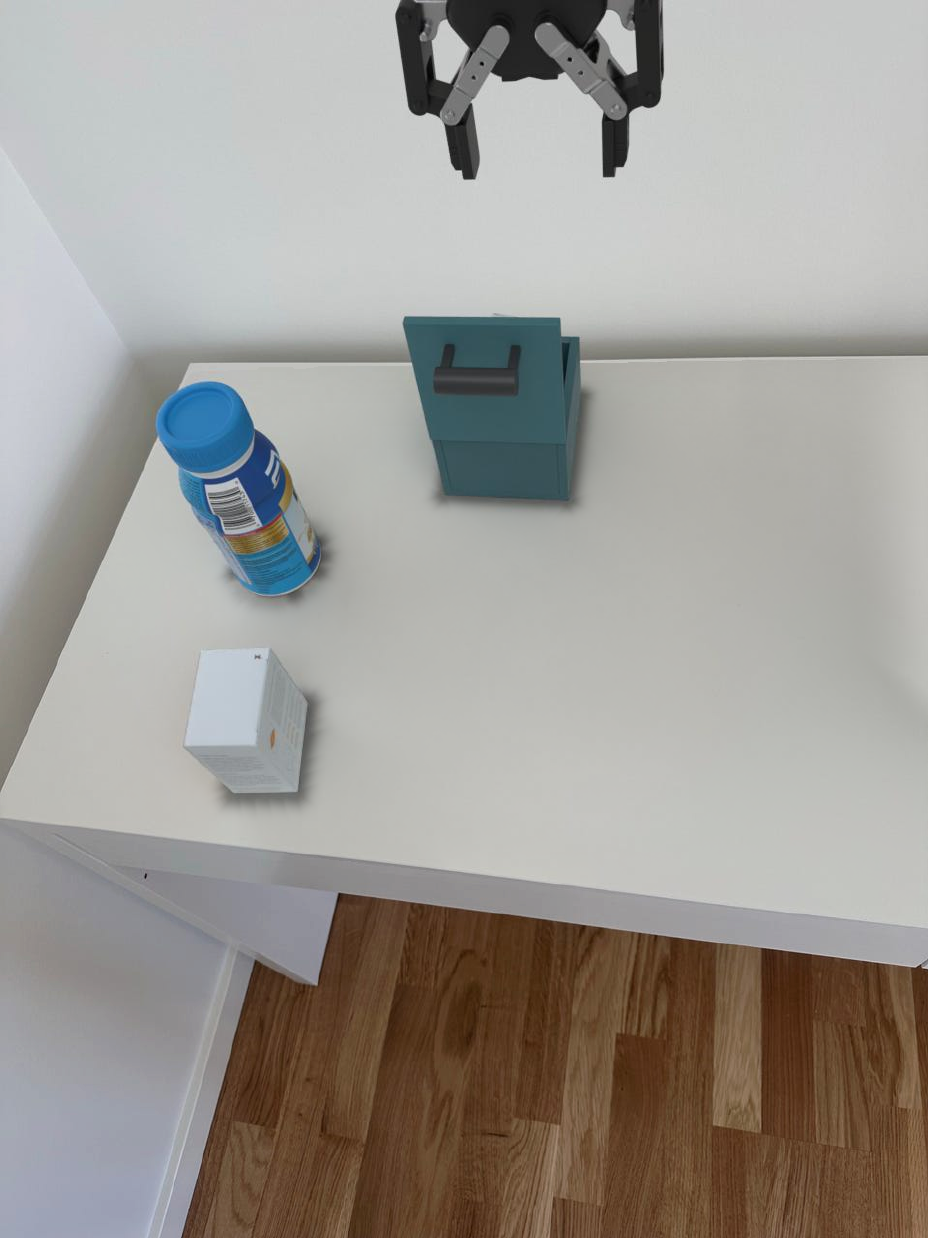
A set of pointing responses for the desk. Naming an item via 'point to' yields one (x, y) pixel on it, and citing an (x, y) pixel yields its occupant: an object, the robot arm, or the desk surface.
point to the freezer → (517, 453)
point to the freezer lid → (489, 377)
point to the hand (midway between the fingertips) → (540, 170)
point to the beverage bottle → (239, 488)
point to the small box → (247, 720)
